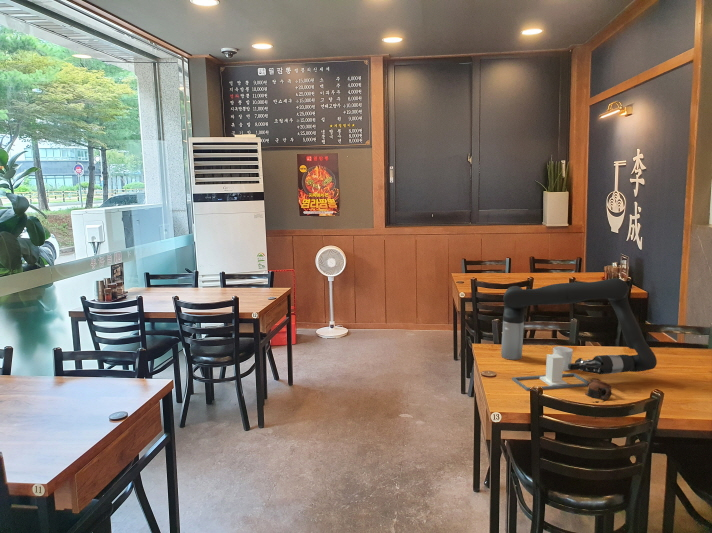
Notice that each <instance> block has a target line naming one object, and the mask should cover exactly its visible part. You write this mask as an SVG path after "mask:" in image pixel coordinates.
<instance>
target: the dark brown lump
mask: <svg viewBox="0 0 712 533" xmlns="http://www.w3.org/2000/svg"><path fill="white" fill-rule="evenodd" d="M589 382H590V383H588V384H587V386H586V387H588V388H587V389H588V390H587V392H584V395H585V396H586V397H588V398H591V399H595V400H601V401H607V400H608V399H610V397H611V396H612V393H613V392H612V388H613V386H612V385H611V384H609V383H607V382H605V381H601V380H598V379H593V378H591V379H590V381H589ZM599 402H600V401H594V403H597V404H598V403H599Z"/></svg>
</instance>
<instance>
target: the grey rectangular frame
mask: <svg viewBox="0 0 712 533" xmlns="http://www.w3.org/2000/svg"><path fill="white" fill-rule="evenodd" d="M542 376H546V374H541V375H529V376H528V375H527V376H525V375H524V376H514V377H513V376H511V380H512V382H514V383H515V384H517V385H518V386H519V387H521V388H522V389H524V390H525V391H527V392H528V391H529V390H530V388H531V387H532V386H529V387H528V386H526V385H525V384H523V383H522V382H521V381H522V380H523V381H524V380H534V379H535V380H536V379H537V380H538V379H539V380H540V377H542ZM564 377H565V378H567V377H573V378H574V377H575V378H576V379H578V380H580V381H581V382H583V383H571V384H570V383H568V385H555V386H549V385H543V386H540V387H542V388H543V391H545V390H554V389H557V390H558V389H566V388H567V389H570V388H580V387H581V388H582V387H583V388H584V387H588V386H587V384H588V383H590V382H591V381H588V380H587V379H586V378H583V377H581V376H580V375H579V374H577V373H575V372H571V373H569V372H568V373H563V374H562V378H564ZM530 391H531V390H530Z"/></svg>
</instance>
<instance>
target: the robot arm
mask: <svg viewBox="0 0 712 533" xmlns="http://www.w3.org/2000/svg"><path fill="white" fill-rule="evenodd" d="M628 292H629V286H628V283H627V282H626V281H625V280H623V279H621V278H617V277H615V278H614V277H613V278H608V279H604V280H597V281H589V282H588V281H586V282H582V281H581V282H564V283H563V282H560V283H553V284H548V285H546V286H545V285H544V286H542V287H537V288H531V289H528V288H522V287H520V286H519V285H512V286H509V287H508V288H507V289H506V291H505V292H504V294H503V296H502V297H503V298H502V300H503V302H504V305H503V315H502V335H501V347H500V348H501V351H500V353H501V356H500V357H502V358H503V359H507V360H513V361H514V360H518V361H519V360H521V359H522V357H523V343H524V342H523V340H524V324H525V322H524V320H525V310H526V307H530V306H541V305H544V306H550V305H568V304H575V303H580V302H581V303H582V302H586V301H588V300H594V299H595V300H598V299H603V300H604V299H606V300H608V301H609V303H610V305H611V307H612V308H613V310H614V313H615V316H616V317H617V321H618V323H619V326H620V329H621V332H622V335H623V337H624V341H625V343H626V346H627V348H629V349H630V350H631V349H632V350H634V351H635V352H636V353H637V354H633V355H628V354H602V355H599V354H598V355H595V356H594V357H593V358H592V359H591V358H590V359H586V360H583V358H582V357H579V358H577V359H576V360H575V361H574V362H573V363H572V362H571V364H568V369H570V370H569V371H582V372H585V373H591V374H596V375H611V374H618V373H627V372H628V373H629V372H631V373H639V372H646V371H651V370H653V369H655V368H656V366H657V363H658V361H657V357H656V354H655V353H654V351H653V350H652V349H651V347H650V346H649V344H648V343H647V342H646V340H645V338H644V334H643V332H642V329H641V327H640V325H639V322H638V321H637V319H636V317H635V315H634V313H633V311H632V308H631V306H630V303H629V298H628Z"/></svg>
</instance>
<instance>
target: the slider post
mask: <svg viewBox="0 0 712 533" xmlns="http://www.w3.org/2000/svg"><path fill="white" fill-rule="evenodd" d="M563 359H564V357H562V356H560V355H558V354H553V353H551V354H548V353H547V354H546V365H545V375H546V376H542V377H540V378H539V380H540V381H542V382H544V384H546V385H547V386H555V385H568V384H569V383H568V382H567V381H565V380H563V377H562V374H564V371H563Z"/></svg>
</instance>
